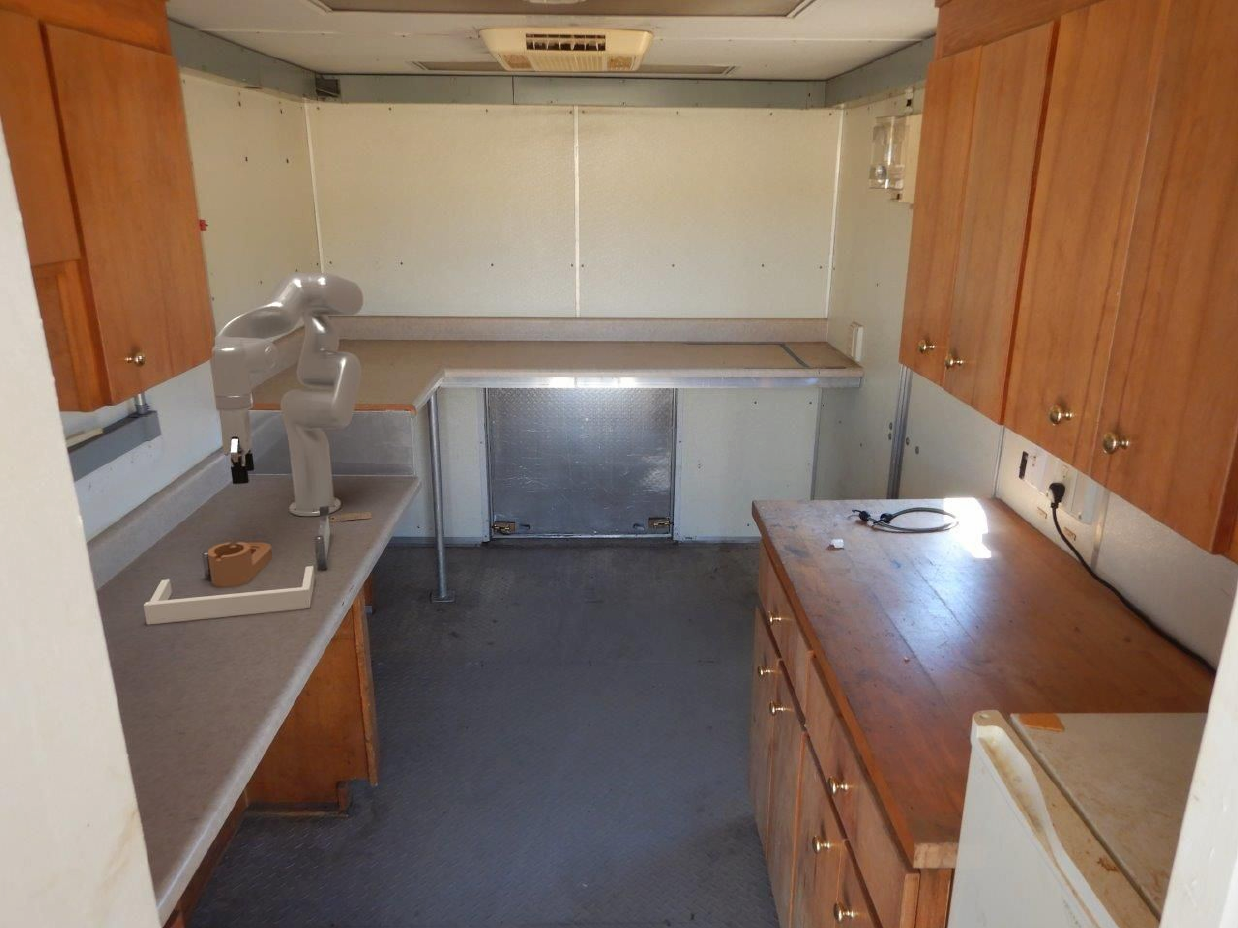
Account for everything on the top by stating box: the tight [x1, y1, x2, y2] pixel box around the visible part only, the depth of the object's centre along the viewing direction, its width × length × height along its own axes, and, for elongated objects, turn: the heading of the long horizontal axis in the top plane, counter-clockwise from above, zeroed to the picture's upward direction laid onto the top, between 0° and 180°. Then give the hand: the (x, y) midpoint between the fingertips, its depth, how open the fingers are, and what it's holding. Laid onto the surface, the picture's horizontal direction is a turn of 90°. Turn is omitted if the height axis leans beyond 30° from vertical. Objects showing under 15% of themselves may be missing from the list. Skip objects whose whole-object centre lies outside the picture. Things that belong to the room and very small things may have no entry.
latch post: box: [201, 550, 212, 581], centre depth 186 cm, size 2×2×6 cm
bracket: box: [207, 541, 273, 588], centre depth 190 cm, size 18×8×7 cm, turn 179°
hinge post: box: [313, 535, 328, 572], centre depth 190 cm, size 2×2×8 cm
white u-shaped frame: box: [143, 565, 316, 625], centre depth 176 cm, size 14×30×4 cm, turn 105°
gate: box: [317, 506, 331, 561], centre depth 201 cm, size 18×2×8 cm, turn 15°
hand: (243, 476), depth 195 cm, fingers open, 8 cm apart
